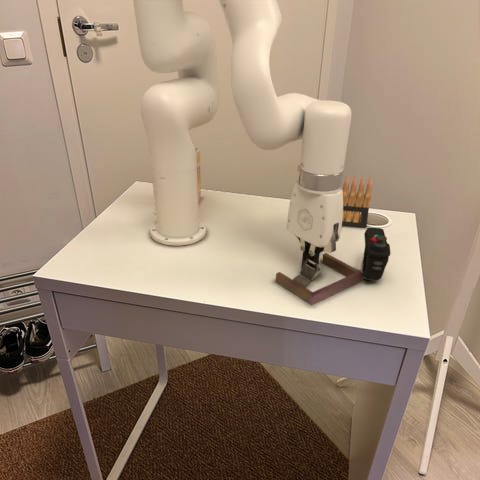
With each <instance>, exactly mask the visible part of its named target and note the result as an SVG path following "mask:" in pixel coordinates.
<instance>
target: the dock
mask: <svg viewBox="0 0 480 480" xmlns="http://www.w3.org/2000/svg"><path fill="white" fill-rule="evenodd" d="M321 263H322V264H323V265H325V266H327V267H329V268H331V269H333V270H334V271H336V272H338V273H340V274H342V275H343V276H345V277H343V278H341V279H339V280H335V281H334V282H332V283H329V284H328V285H325V286H323V287H321V288H319V289H317V290H314V291H312V290H310V289H308V288H307V287H306V288H305V287H303V286H302V285H300V284H299V283H297V282H295V281H294V280H292V279H293V278H291V277H289V276H288V275H286V274H284V273H282V272H281V271H279V272H277V273H275V283H276V284H278V285H279V286H281V287H282V288H284V289H286V291H288V292H290V293H292V294H293V295H295V296H297V297H298V298H299V299H301V300H303V301H304V302H306V303H308V304H309V305H310V306H313V305H315V304H317V303H320V302H322V301H323V300H325V299H328V298H330V297H332V296H334V295H337V294H339V293H341V292H343V291H345V290H347V289H349V288H351V287H353V286H355V285H357V284H360V283H361V282H363V278H364V277H363V271H361V270H359V269H358V268H355V267H353V266H352V265H349V264H348V263H346V262H344V261H342V260H340V259H339V258H336V257H334V256H332V255H331V254H330V253H329V254H328V252H324V253H323V254H322V258H321Z"/></svg>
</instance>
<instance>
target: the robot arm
mask: <svg viewBox="0 0 480 480" xmlns="http://www.w3.org/2000/svg"><path fill="white" fill-rule="evenodd" d="M132 1H133V8H134V15H135V23H136V29H137V30H136V31H137V37H138V44H139V49H140V54H141V58H142V60H143V63H144V65H145V66H146V67H147V69H148V70H150V71H151V72H153V73H156V74H171V73H176V72H177V76H178V78H174V79H169V80H164V81H161V82H160V81H159V82H158V83H155V84H153V85H152V86H150V87H149V88H147V90H146V91H145V92H144V94H143V95H142V97H141V100H140V115H141V119H142V124H143V126H144V130H145V133H146V138H147V143H148V147H149V148H148V150H149V157H150V158H149V159H150V168H151V175H152V176H151V178H152V188H153V190H152V191H153V201H154V209H152V214H153V215H154V216H155V221H156V223H154V224H153V225H152V226H151V228H150V237H151V239H152V240H154V241H155V242H157V243H159V244H161V245H166V246H177V247H178V246H187V245H188V246H189V245H192V244H195V243H198V242H199V241H201V240H203V239H204V238H205V237H206V236H207V235H206V234H207V228H206V226H205V224H203V223H202V222H201V221H200V218H199V217H200V215H199V200H198V184H197V159H196V152H195V148H196V147H195V145H194V143H193V141H192V139H191V136H190V133H189V131H190V130H193V129H196V128H198V127H201V126H204V125H207V124H208V123H210V122H211V121H212V120H213V119H214V118H215V116H216V115H217V113H218V108H219V102H220V101H219V99H220V98H219V96H220V95H219V94H220V93H219V92H220V91H219V77H218V76H219V75H218V61H217V47H216V40H215V36H214V33H213V29H212V28H211V26H210V24H209V23H208V21H207V20H206V19H205V18H204V17H203V16H202V15H200V14H199V13H197V12H194V11H185V10H184V4H183V0H132ZM218 1H219V3H220V4H219V5H220V7H221V10H222V13H223V15H224V18H225V21H226V25H227V27H228V30H229V33H230V37H231V42H232V48H231V56H230V84H231V93H232V96H233V100H234V104H235V107H236V110H237V113H238V115H239V118H240V121H241V124H242V126H243V128H244V131H245V133H246V134H247V136H248V138H249V140H250V141H251V142H252V143H253V144H254V145H255V146H256V147H257V148H259V149H261V150H265V151H274V150H277V149H280V148H282V147H284V146H286V145H288V144H290V143H293V142H296V141H299V140H302V141H301V150H300V151H301V152H300V161H299V164H298V166H297V169H296V170H297V172H299V173H298V180H296V181H295V183H294V185H293V189H292V193H291V195H290V200H289V205H288V212H287V218H286V220H287V221H286V228H287V229H286V230H288V232H289V233H290V234H292V235H293V236H295V238H297V240H298V242H299V247H300V251H301V252H302V256H301V263H300V269H301V268H302V266H303V263H304V262H305V260H306V259H309V260H311V261H313V262H314V263H316V264H318V265H319V264H320V256H321V253H323V252H324V253H327V254H328V253H329V254H331V253H333V252H334V253H335V252H336V250H337V242H339V240H340V237H341V232H342V227H343V226H342V218H343V189H342V183H343V176H344V171H345V170H344V169H345V164H346V163H345V162H346V156H347V150H348V143H349V134H350V129H351V124H352V123H351V122H352V116H353V115H352V109H351V107H350V105H348V104H347V103H345V102H342V101H337V100H327V99H325V100H323V99H322V100H321V99H317V98H315V97H311V96H309V95H306V94H303V93H299V92H288V93H285V94H282V95H279V96H278V95H277V93H276V90H275V87H274V84H273V80H272V74H271V68H270V66H271V65H270V56H271V50H272V47H273V43H274V41H275V39H276V36H277V35H278V32H279V30H280V28H281V26H282V24H283V23H282V22H283V18H282V17H283V16H282V13H281V9H280V6H279V4H278V0H218ZM306 264H307V265H308V266H310V267H312V268H313V269H316V266H315V265H314V264H312V263H310V262H309V261H307V262H306Z"/></svg>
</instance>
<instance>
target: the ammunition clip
mask: <svg viewBox="0 0 480 480" xmlns="http://www.w3.org/2000/svg"><path fill="white" fill-rule="evenodd" d="M365 183H366V181H365V177H364V176H361V179H360V182H359V184H358V180H357V176H356V175H355V176H354V177H353V179H352V182H351V185H350V177H349V175H346V177H345V179H344V182H343V187H342V190H343V218H342V227H346V228H358V229H367V225H368V218H369V212H370V211H369V210H370V205H371V200H372V190H373V189H372V188H373V177H370V178H369V179H368V181H367V185H366V189H365ZM357 184H358V189H357ZM349 187H350V189H349ZM349 190H350V191H349Z"/></svg>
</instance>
